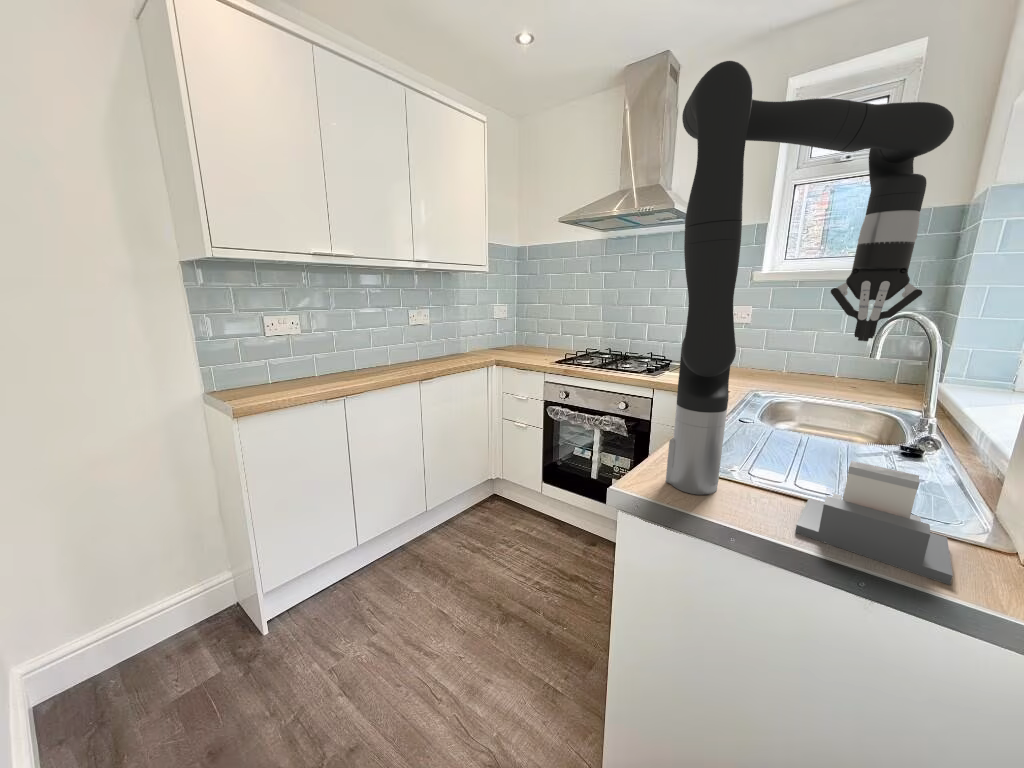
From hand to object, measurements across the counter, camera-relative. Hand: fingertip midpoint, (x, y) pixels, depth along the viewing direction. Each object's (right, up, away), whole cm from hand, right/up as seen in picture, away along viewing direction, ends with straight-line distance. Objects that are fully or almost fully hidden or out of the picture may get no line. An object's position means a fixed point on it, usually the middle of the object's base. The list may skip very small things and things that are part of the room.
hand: (863, 340), depth 75 cm
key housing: (-7, -33, -9) cm, 35 cm away
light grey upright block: (-6, -31, -9) cm, 33 cm away
